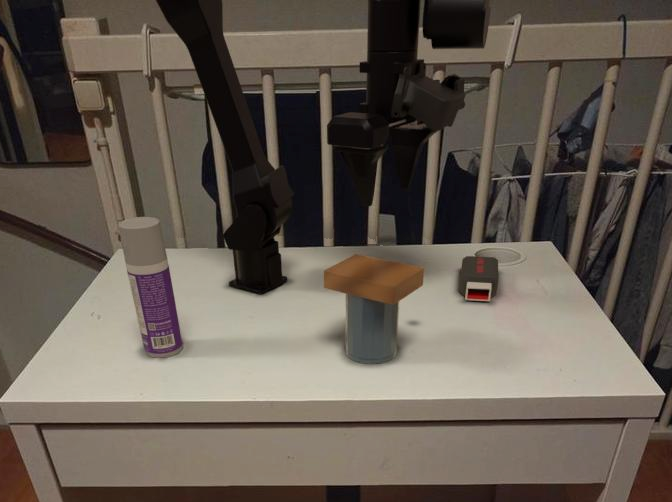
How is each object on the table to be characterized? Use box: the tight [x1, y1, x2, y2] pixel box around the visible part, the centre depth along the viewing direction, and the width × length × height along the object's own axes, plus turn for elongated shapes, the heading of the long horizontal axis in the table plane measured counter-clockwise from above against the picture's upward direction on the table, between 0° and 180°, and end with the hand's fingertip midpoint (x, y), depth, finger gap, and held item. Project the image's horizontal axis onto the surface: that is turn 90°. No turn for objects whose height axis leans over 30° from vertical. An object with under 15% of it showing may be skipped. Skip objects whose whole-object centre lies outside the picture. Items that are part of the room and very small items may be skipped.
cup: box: [345, 293, 400, 365], centre depth 72 cm, size 6×6×8 cm
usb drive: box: [458, 255, 500, 302], centre depth 89 cm, size 5×12×3 cm, turn 168°
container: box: [117, 216, 184, 359], centre depth 72 cm, size 5×5×15 cm
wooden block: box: [323, 253, 425, 305], centre depth 69 cm, size 9×6×2 cm
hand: (386, 197), depth 80 cm, fingers open, 9 cm apart
